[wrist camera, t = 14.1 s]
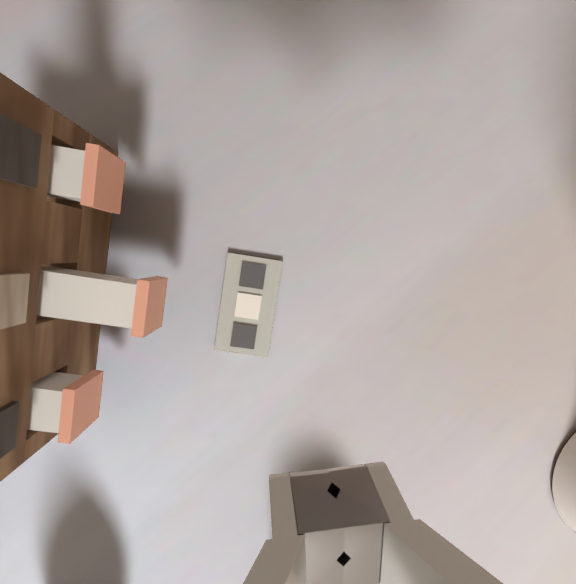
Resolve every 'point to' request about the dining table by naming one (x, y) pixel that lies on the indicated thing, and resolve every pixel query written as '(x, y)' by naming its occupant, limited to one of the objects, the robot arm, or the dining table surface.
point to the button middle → (102, 299)
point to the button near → (87, 177)
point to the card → (248, 305)
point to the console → (39, 263)
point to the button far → (65, 403)
